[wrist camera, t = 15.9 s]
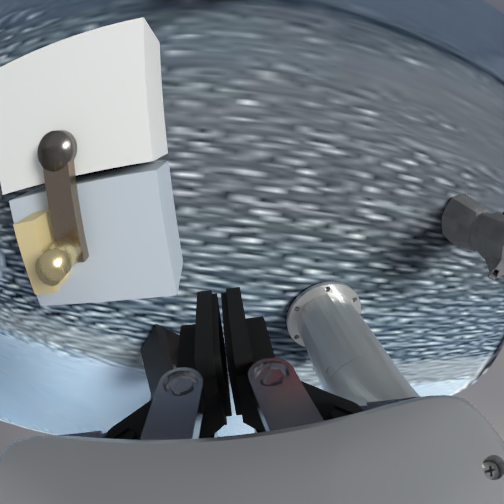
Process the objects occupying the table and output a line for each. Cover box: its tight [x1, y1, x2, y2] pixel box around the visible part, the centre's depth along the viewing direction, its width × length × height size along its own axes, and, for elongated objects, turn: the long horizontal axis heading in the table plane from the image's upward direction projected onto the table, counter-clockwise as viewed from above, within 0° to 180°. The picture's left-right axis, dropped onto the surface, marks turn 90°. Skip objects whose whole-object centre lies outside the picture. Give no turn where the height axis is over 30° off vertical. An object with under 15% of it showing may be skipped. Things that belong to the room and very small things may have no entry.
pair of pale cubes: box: [0, 17, 183, 306], centre depth 29 cm, size 30×19×14 cm, turn 4°
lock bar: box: [35, 130, 89, 286], centre depth 24 cm, size 14×4×6 cm, turn 1°
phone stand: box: [141, 324, 180, 401], centre depth 42 cm, size 9×6×12 cm, turn 55°
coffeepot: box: [441, 194, 504, 280], centre depth 37 cm, size 15×9×18 cm, turn 127°
